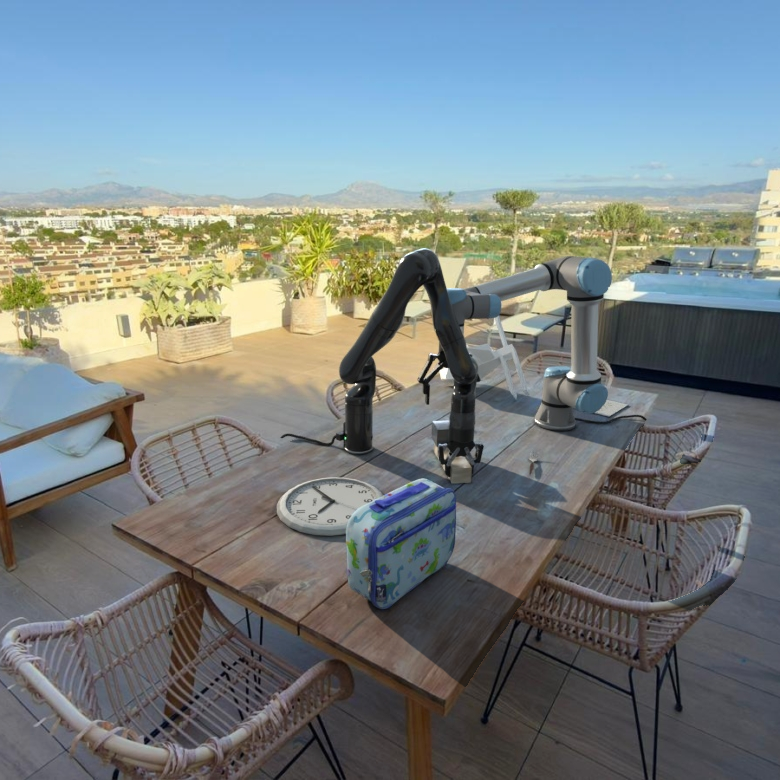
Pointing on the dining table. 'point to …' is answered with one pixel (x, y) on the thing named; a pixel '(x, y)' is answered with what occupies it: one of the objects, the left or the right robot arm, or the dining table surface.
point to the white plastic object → (492, 362)
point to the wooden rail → (457, 468)
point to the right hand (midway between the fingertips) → (447, 403)
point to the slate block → (440, 432)
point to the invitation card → (610, 408)
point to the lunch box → (400, 540)
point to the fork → (533, 461)
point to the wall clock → (324, 504)
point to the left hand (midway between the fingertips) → (458, 475)
